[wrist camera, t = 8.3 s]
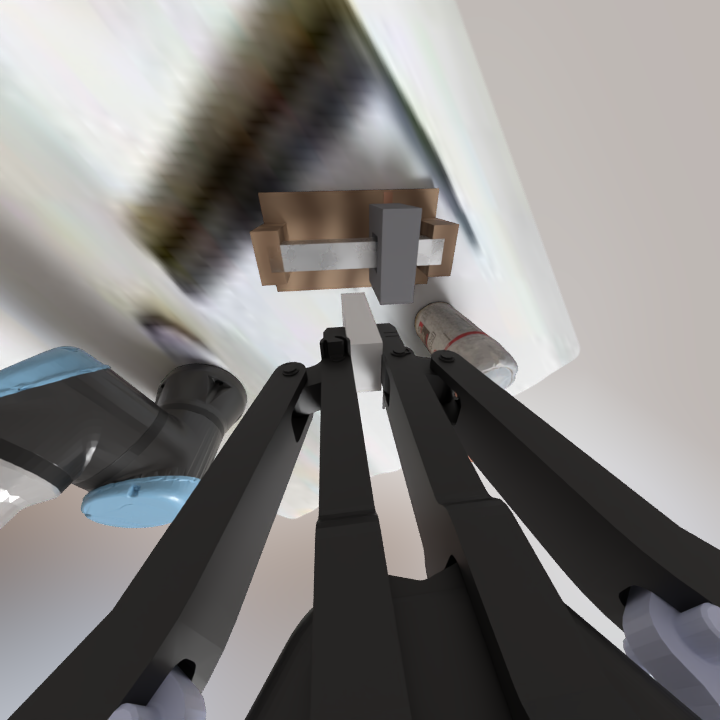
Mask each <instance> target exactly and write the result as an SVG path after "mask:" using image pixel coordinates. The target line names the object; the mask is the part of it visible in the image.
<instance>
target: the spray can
mask: <svg viewBox="0 0 720 720" xmlns="http://www.w3.org/2000/svg"><path fill="white" fill-rule="evenodd" d="M414 326H415V329H416V333H417V335H418V336H419V337H420V339H421V340H422V342H423V343H424V345H425V346H426V347H427V349H428V350H429V352H430V353H431V354H432V353H433V352H435V351H437V350H450V351H453V352H455V353H457V354H459V355H460V356H462V357H463V358H464V359H465V360H467V361H468V362H469V363H471V364H472V365H473V366H474V367H476V368H477V369H478V370H479V371H481V372H482V373H483V374H485V375H486V376H487V377H488V378H490V379H491V380H492V381H494V382H495V383H496V384H497V385H499V386H500V387H501V388H503V389H506V388H507V387H509V386H510V385H511V384H512V383H513V382H514V380H515V375H516V373H517V372H518V366H517V363H516V362H515V360H514V359H513V357H512V356H511V355H510V354H509V353H508V352H507V351H506V350H505V349H504V348H503V347H502V346H501V345H500V343H498V342H497V341H496V340H494V339H493V338H491V337H490V336H488V335H487V334H486V333H484V332H483V331H482V330H481V329H479V328H478V327H477V326H476V325H475V324H473V323H472V322H471V321H470V320H469V319H467V318H466V317H464V316H463V315H462V314H461V313H459V312H458V311H457V310H456V309H454V308H453V307H452V306H451V305H449V304H448V303H445V302H435V303H431V304H429V305H427V306H426V307H424V308H423V309H422V310H420V311H419V312H418V314H417V316H416V317H415V325H414Z"/></svg>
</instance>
